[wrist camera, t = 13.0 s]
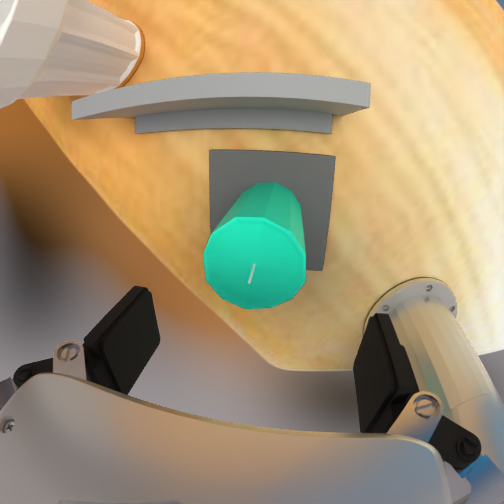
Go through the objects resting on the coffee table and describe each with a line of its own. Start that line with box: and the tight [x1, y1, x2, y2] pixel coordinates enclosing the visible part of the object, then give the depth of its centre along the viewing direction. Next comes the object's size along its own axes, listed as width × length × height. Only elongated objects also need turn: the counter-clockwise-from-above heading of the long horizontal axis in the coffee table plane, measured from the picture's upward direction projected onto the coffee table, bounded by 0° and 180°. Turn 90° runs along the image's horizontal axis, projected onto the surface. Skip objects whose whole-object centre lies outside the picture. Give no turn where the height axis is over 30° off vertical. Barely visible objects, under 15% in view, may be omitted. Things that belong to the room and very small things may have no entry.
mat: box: [209, 150, 336, 271], centre depth 25 cm, size 11×11×1 cm
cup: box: [0, 0, 145, 109], centre depth 13 cm, size 11×11×17 cm
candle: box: [203, 182, 306, 309], centre depth 19 cm, size 6×6×12 cm
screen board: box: [72, 72, 370, 134], centre depth 18 cm, size 5×20×9 cm, turn 88°
